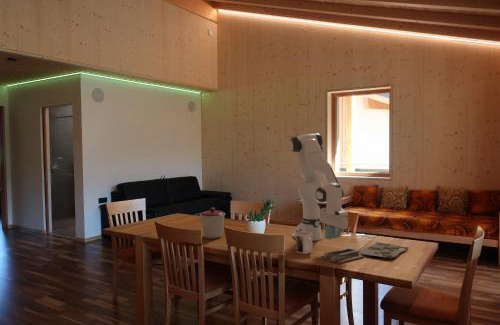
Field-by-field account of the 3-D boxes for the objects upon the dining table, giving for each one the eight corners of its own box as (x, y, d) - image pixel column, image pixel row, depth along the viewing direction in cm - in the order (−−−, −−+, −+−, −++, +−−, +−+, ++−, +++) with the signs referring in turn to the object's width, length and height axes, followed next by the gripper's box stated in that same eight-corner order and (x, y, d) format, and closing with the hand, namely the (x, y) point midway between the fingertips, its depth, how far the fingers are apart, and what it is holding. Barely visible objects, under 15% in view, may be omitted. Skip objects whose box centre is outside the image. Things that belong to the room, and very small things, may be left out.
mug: (314, 249, 242) (314, 231, 241) (312, 255, 230) (312, 236, 230) (297, 248, 245) (297, 231, 244) (294, 254, 233) (294, 235, 232)
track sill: (320, 258, 224) (320, 252, 224) (345, 252, 235) (345, 246, 235) (338, 264, 212) (338, 257, 212) (363, 257, 223) (363, 251, 223)
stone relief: (409, 249, 240) (377, 243, 253) (409, 245, 240) (377, 239, 252) (390, 263, 215) (356, 256, 228) (390, 258, 215) (356, 251, 227)
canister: (200, 240, 268) (199, 210, 266) (199, 234, 285) (199, 205, 284) (226, 239, 270) (226, 209, 269) (224, 233, 288) (224, 204, 287)
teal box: (324, 238, 234) (325, 226, 234) (336, 235, 240) (337, 224, 239) (328, 239, 232) (328, 227, 231) (340, 237, 237) (340, 225, 237)
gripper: (317, 207, 241) (316, 229, 242) (342, 214, 224) (341, 237, 225) (325, 206, 245) (324, 228, 246) (350, 213, 228) (349, 236, 229)
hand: (332, 233), depth 235 cm, fingers closed on teal box, 3 cm apart
